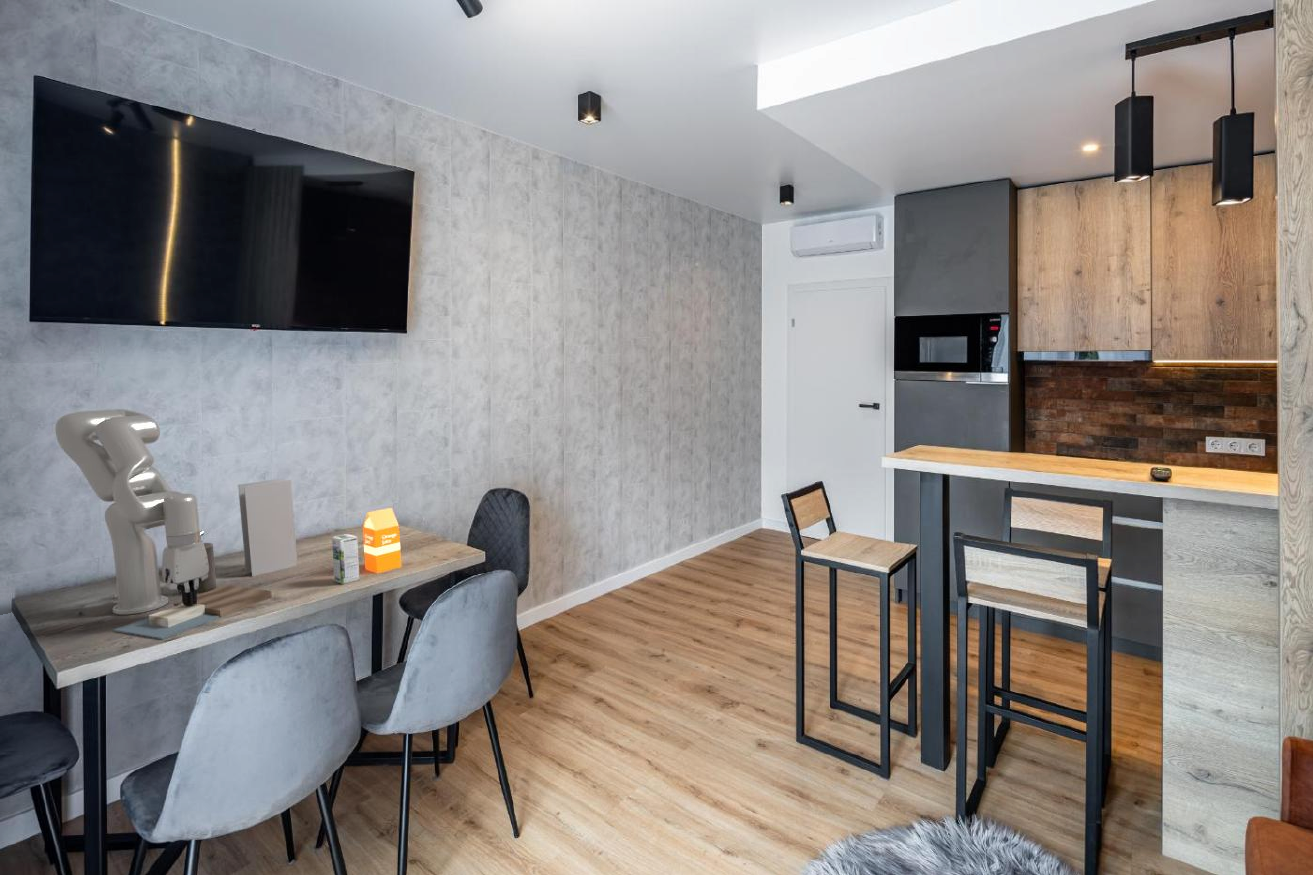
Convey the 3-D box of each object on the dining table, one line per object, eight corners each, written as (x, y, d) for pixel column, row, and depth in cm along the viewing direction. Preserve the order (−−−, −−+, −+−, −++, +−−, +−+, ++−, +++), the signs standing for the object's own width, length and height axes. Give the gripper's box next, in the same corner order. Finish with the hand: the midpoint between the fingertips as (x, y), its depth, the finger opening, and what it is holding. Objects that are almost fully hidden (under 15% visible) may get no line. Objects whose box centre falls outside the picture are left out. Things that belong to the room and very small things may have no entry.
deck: (174, 610, 186) (173, 603, 186) (227, 591, 201) (226, 585, 201) (220, 617, 180) (219, 610, 180) (271, 597, 195) (271, 590, 195)
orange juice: (365, 569, 221) (361, 511, 219) (389, 562, 228) (386, 506, 226) (377, 573, 217) (373, 514, 214) (401, 566, 223) (398, 509, 221)
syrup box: (333, 581, 209) (330, 536, 208) (351, 576, 214) (348, 532, 212) (342, 584, 206) (339, 539, 204) (360, 579, 210) (357, 535, 209)
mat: (114, 631, 171) (113, 629, 171) (172, 610, 186) (172, 609, 186) (162, 639, 166) (162, 637, 166) (218, 617, 180) (218, 616, 180)
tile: (149, 624, 175) (148, 615, 174) (187, 610, 184) (186, 602, 184) (168, 627, 172) (167, 618, 172) (205, 613, 182) (204, 604, 181)
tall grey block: (291, 562, 230) (284, 478, 227) (297, 565, 226) (291, 480, 223) (245, 573, 219) (238, 484, 216) (252, 576, 216) (244, 486, 212)
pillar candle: (197, 595, 198) (193, 547, 196) (170, 593, 200) (166, 545, 198) (224, 585, 207) (220, 538, 206) (198, 583, 209) (194, 537, 208)
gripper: (200, 531, 187) (206, 594, 189) (145, 545, 173) (152, 612, 175) (219, 533, 185) (225, 596, 187) (165, 547, 171) (172, 615, 173)
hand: (190, 604), depth 181 cm, fingers closed
